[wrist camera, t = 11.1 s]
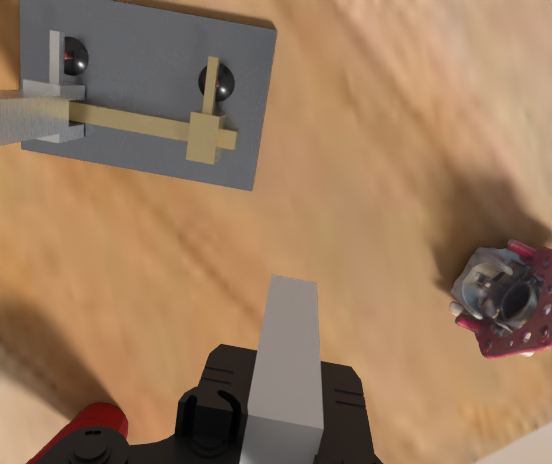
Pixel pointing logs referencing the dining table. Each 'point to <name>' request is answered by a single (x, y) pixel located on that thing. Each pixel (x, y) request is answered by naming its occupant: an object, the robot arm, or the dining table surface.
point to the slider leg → (42, 104)
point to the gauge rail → (171, 122)
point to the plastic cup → (90, 424)
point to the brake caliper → (506, 299)
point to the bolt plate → (152, 81)
